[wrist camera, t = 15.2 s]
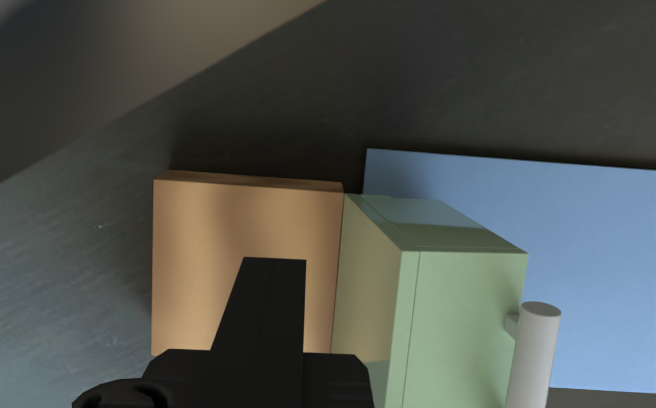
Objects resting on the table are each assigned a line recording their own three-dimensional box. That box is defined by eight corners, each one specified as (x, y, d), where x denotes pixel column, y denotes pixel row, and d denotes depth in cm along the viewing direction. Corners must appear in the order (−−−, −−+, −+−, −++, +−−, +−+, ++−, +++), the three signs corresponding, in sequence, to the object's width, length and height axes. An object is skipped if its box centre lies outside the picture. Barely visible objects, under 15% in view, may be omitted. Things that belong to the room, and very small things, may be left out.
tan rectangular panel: (341, 182, 39) (344, 192, 36) (328, 341, 42) (329, 366, 38) (167, 169, 39) (153, 179, 35) (164, 331, 41) (150, 355, 38)
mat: (345, 372, 42) (346, 374, 42) (366, 148, 39) (367, 148, 38) (715, 394, 43) (719, 397, 43) (767, 178, 40) (772, 179, 39)
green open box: (344, 193, 36) (443, 197, 37) (329, 366, 38) (423, 365, 39) (424, 273, 22) (577, 275, 23) (393, 536, 24) (533, 525, 26)
